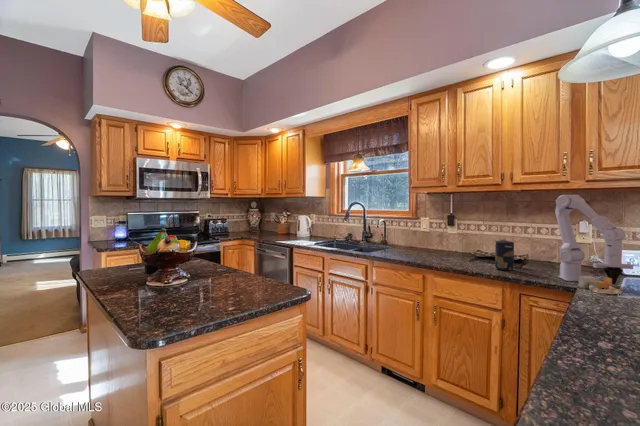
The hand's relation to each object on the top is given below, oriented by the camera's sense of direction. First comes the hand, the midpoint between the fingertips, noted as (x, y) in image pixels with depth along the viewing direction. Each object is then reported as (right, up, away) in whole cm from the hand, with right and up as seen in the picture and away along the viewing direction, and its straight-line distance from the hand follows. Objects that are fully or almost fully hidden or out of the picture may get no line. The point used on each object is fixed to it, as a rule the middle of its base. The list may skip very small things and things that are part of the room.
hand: (612, 283), depth 144 cm
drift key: (-5, -2, +1) cm, 5 cm away
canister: (-26, -1, +41) cm, 48 cm away
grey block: (-10, -2, +3) cm, 10 cm away
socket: (-9, -2, +2) cm, 9 cm away
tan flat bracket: (-9, -3, -6) cm, 11 cm away
